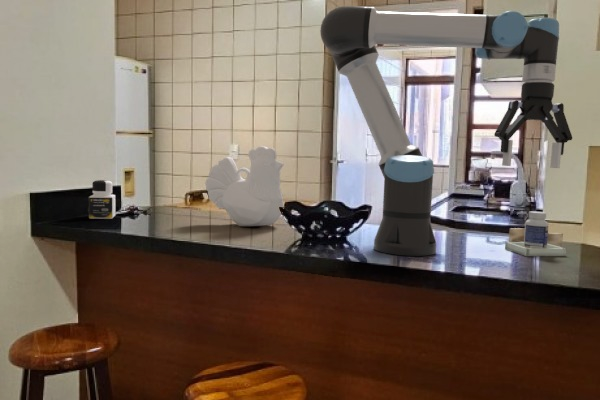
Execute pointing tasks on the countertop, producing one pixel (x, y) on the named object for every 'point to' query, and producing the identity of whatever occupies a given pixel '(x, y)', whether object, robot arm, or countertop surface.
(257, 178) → the decorative rooster
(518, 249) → the tray
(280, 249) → the countertop surface
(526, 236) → the pill bottle
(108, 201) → the medicine bottle
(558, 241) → the clevis block
